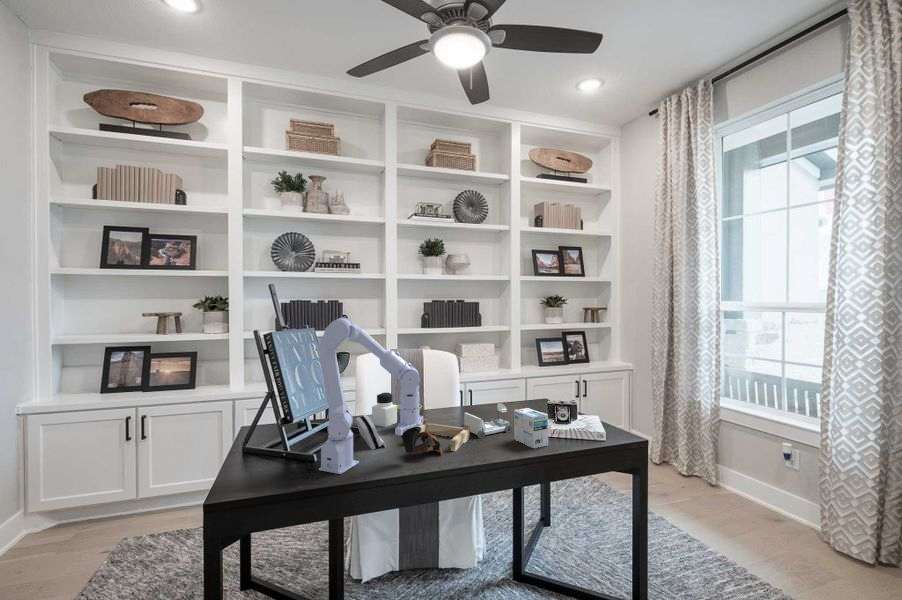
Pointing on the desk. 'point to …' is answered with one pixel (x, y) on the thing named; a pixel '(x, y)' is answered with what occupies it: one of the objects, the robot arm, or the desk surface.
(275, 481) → the desk surface
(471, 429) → the toy car
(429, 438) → the pottery mug
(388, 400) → the medicine bottle
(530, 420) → the light bulb box
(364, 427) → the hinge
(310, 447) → the desk surface
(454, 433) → the cradle
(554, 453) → the desk surface
